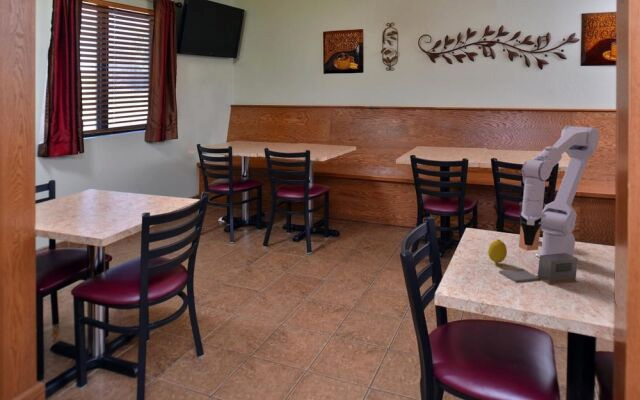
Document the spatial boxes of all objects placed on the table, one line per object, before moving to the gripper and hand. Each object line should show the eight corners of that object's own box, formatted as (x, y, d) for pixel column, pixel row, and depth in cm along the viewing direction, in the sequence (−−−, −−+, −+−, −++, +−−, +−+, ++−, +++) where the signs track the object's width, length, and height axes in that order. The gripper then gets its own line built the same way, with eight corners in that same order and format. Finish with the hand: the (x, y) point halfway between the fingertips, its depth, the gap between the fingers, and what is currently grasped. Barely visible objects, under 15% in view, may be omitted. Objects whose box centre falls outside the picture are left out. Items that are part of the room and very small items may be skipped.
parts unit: (562, 274, 154) (565, 252, 152) (576, 281, 149) (579, 258, 147) (536, 277, 152) (538, 254, 150) (549, 284, 146) (551, 261, 145)
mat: (522, 270, 157) (522, 268, 157) (539, 279, 150) (539, 277, 150) (499, 272, 155) (499, 270, 155) (515, 282, 148) (515, 280, 148)
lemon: (506, 267, 160) (509, 242, 158) (488, 265, 161) (490, 241, 159) (504, 261, 165) (506, 237, 164) (486, 260, 166) (488, 236, 165)
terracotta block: (529, 245, 161) (531, 224, 159) (538, 249, 157) (540, 227, 156) (518, 246, 160) (520, 225, 158) (526, 250, 156) (529, 228, 155)
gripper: (547, 205, 147) (542, 250, 150) (547, 195, 160) (543, 237, 163) (521, 203, 150) (517, 247, 153) (523, 193, 163) (519, 235, 166)
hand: (528, 242), depth 158 cm, fingers closed on terracotta block, 6 cm apart
